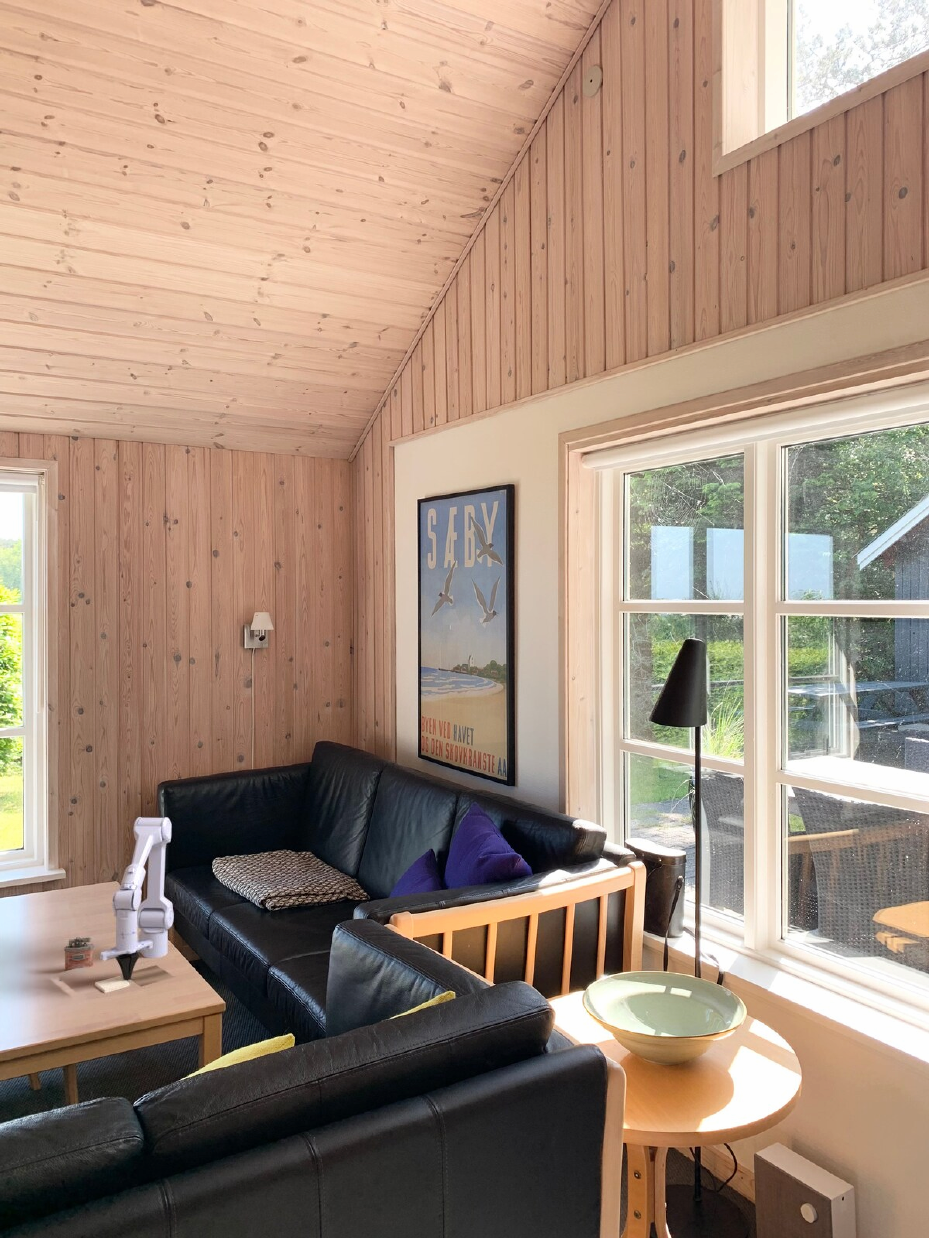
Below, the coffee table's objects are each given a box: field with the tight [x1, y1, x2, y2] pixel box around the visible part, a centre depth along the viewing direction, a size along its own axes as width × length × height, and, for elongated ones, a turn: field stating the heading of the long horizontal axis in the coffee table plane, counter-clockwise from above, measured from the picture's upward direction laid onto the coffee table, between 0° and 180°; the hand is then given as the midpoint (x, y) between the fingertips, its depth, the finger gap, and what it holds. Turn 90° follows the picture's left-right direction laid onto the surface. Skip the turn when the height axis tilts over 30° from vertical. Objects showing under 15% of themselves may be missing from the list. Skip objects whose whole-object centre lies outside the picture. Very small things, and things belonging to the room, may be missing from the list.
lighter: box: [63, 936, 94, 972], centre depth 276 cm, size 8×3×10 cm, turn 105°
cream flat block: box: [94, 975, 131, 994], centre depth 262 cm, size 7×7×2 cm
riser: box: [131, 964, 175, 987], centre depth 269 cm, size 12×10×2 cm
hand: (127, 979), depth 264 cm, fingers closed
